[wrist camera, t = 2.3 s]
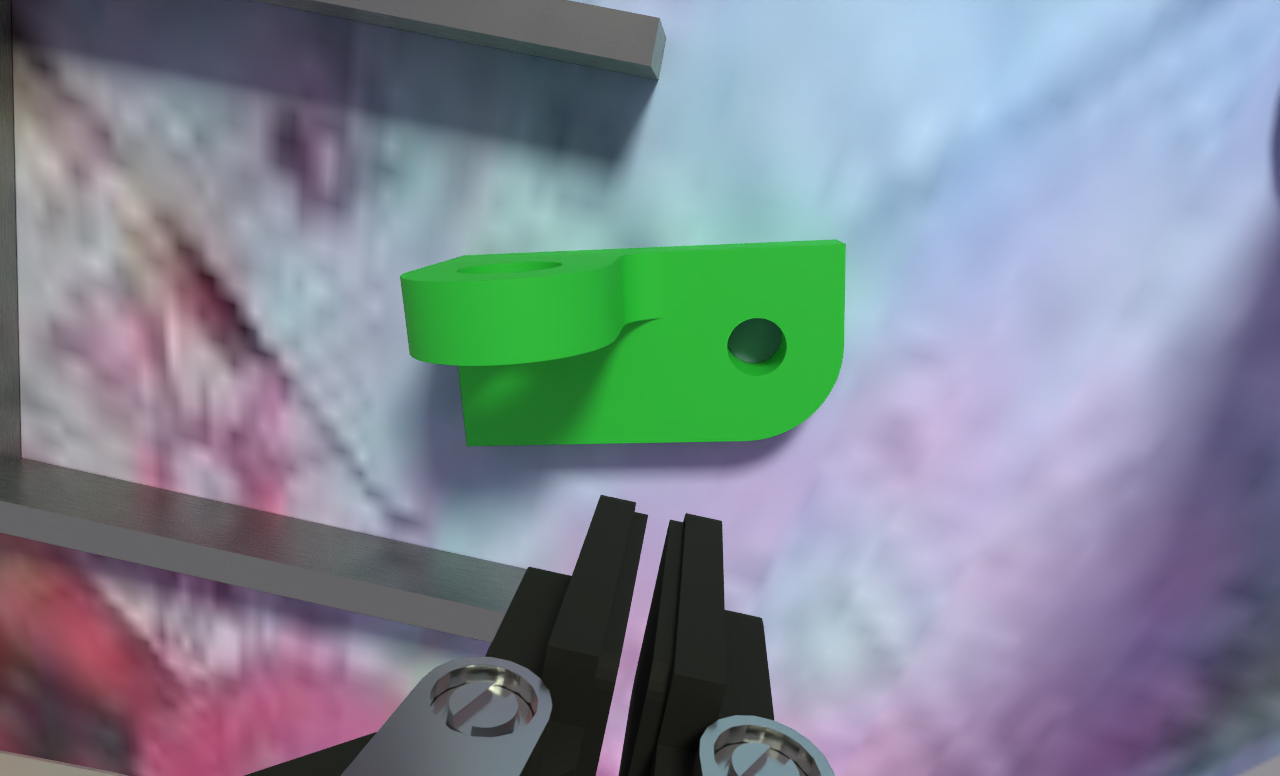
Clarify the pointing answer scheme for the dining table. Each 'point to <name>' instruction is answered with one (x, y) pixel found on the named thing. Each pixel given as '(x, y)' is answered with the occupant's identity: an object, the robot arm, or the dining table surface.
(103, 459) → the dining table surface
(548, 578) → the robot arm
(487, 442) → the mechanical part
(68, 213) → the dining table surface
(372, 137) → the dining table surface
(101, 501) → the drawer frame
